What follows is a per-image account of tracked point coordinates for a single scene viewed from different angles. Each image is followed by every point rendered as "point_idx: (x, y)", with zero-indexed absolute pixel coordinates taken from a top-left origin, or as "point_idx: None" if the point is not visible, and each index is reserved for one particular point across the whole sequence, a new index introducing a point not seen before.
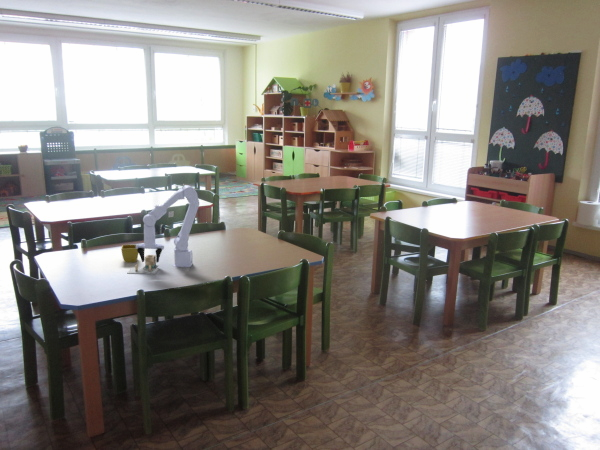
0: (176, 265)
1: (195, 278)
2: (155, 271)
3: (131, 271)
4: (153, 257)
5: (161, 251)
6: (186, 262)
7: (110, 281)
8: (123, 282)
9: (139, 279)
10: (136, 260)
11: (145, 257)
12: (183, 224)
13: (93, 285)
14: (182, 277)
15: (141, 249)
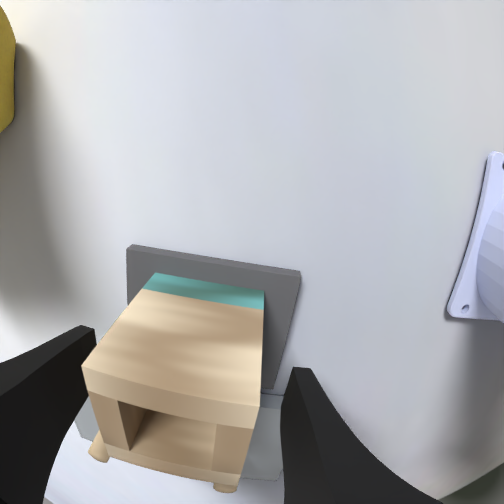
0: (484, 304)
1: (475, 463)
2: (279, 458)
3: (92, 427)
4: (238, 479)
5: (403, 495)
6: None
7: (74, 471)
8: (134, 496)
9: (195, 494)
10: (3, 126)
11: (117, 454)
12: None
13: (50, 476)
14: (432, 470)
15: (2, 498)
